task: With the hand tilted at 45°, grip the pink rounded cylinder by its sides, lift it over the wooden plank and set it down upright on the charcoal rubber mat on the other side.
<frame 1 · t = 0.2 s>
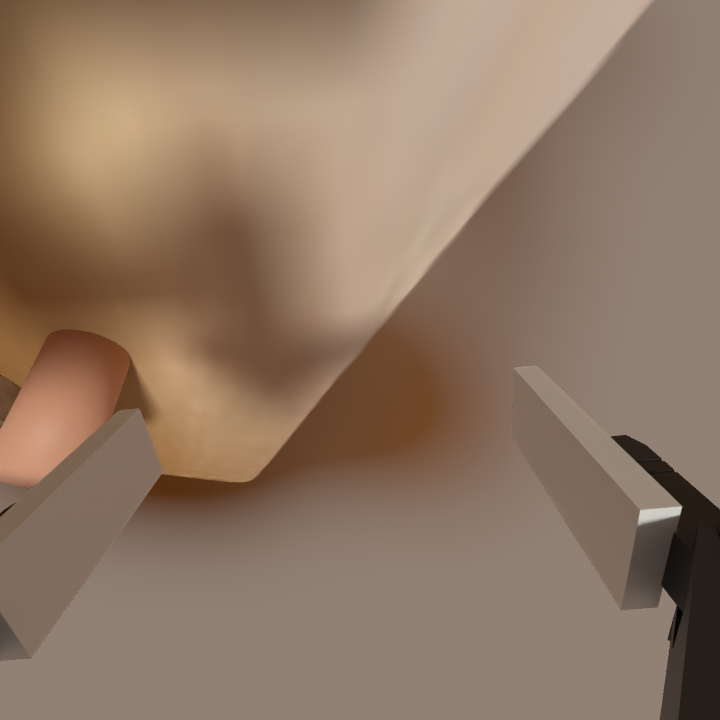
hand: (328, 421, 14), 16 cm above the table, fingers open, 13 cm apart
pink rounded cylinder: (90, 352, 38), on the table
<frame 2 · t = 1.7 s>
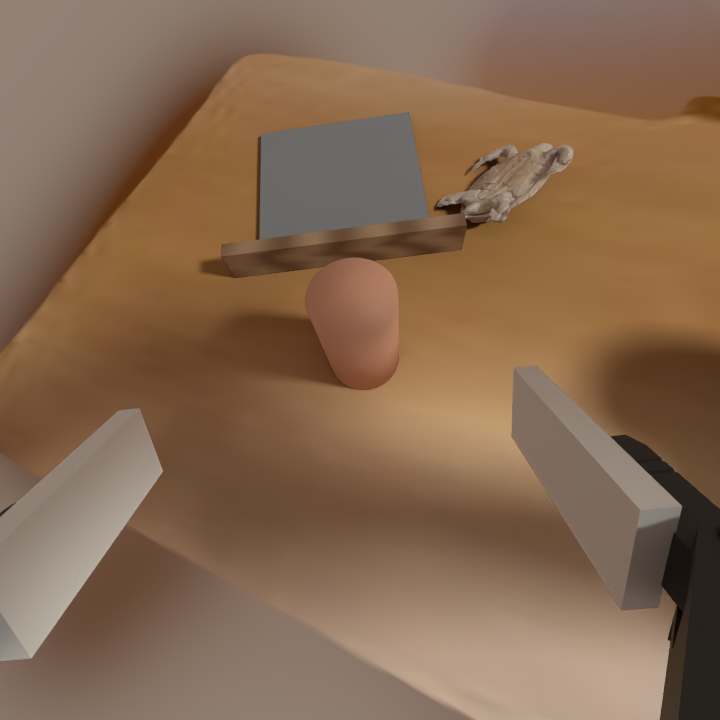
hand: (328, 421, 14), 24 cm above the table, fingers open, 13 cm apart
wooden plank: (346, 258, 46), on the table
mat: (339, 176, 51), on the table
pink rounded cylinder: (364, 357, 41), on the table
turtle: (495, 199, 48), on the table
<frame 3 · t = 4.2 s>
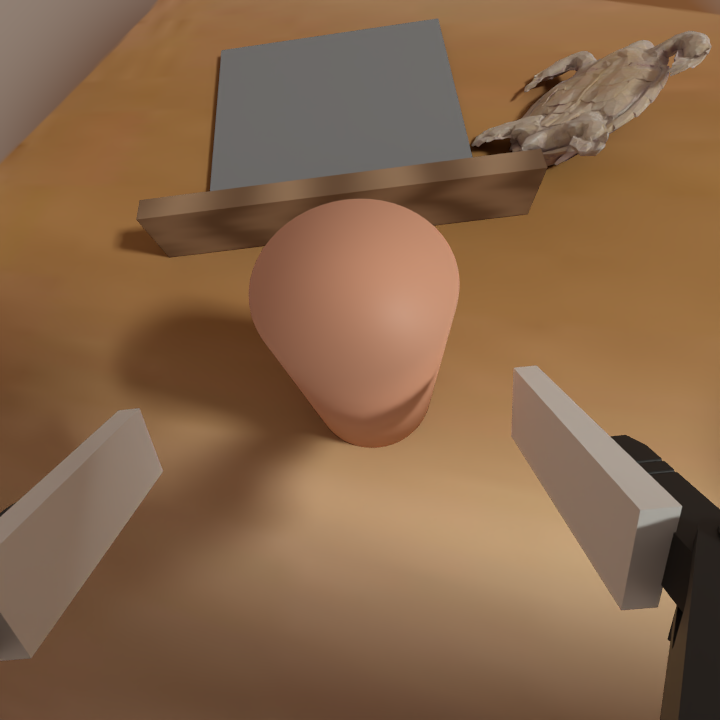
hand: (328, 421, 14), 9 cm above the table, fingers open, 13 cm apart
wooden plank: (343, 227, 29), on the table
mat: (334, 108, 34), on the table
pink rounded cylinder: (372, 389, 24), on the table
turtle: (561, 135, 31), on the table
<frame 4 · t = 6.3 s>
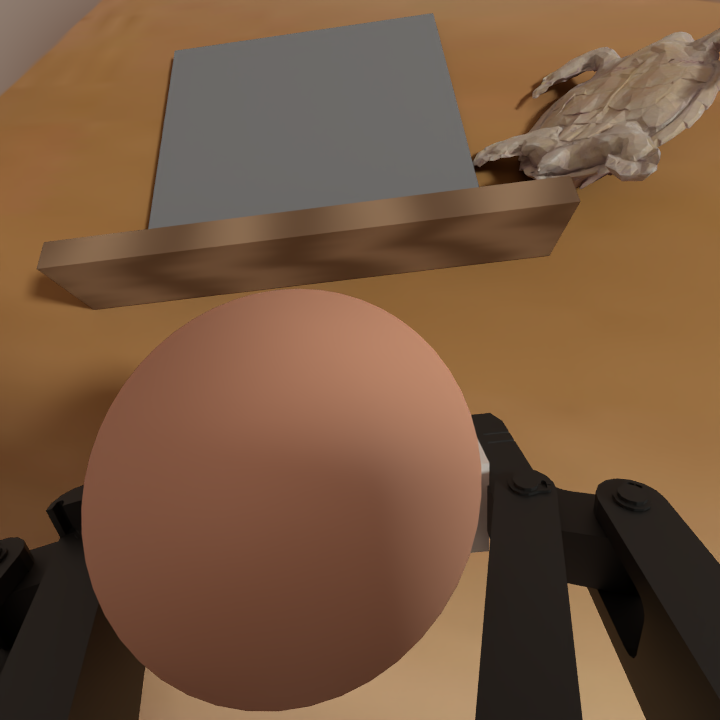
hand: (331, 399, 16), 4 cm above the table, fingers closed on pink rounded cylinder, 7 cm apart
wooden plank: (315, 271, 23), on the table
mat: (307, 120, 28), on the table
pink rounded cylinder: (349, 499, 18), on the table, touching gripper
turtle: (579, 150, 25), on the table
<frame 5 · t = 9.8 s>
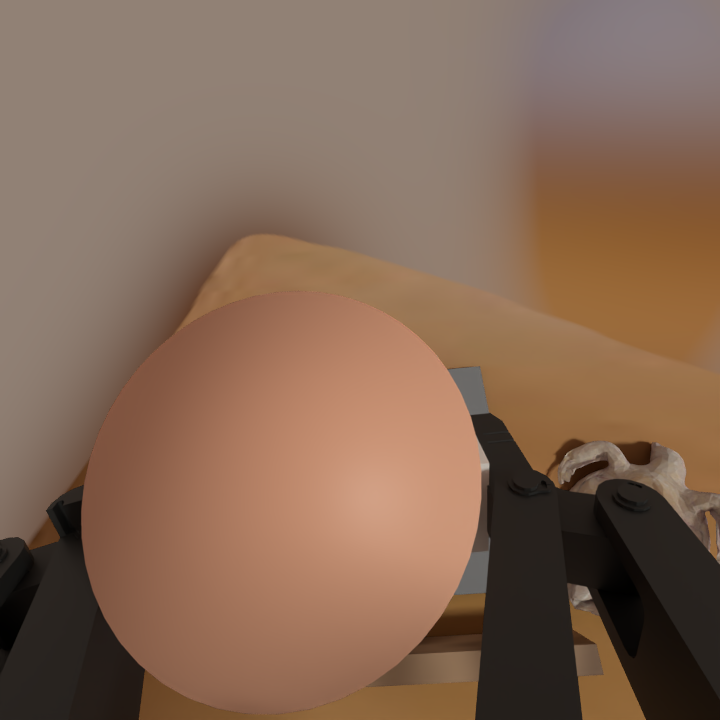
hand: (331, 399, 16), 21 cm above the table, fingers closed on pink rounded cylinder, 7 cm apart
wooden plank: (394, 651, 30), on the table
mat: (379, 477, 34), on the table
pink rounded cylinder: (349, 500, 18), point 17 cm above the table, touching gripper
turtle: (598, 526, 32), on the table
when the fingers open (6 cm above the table, at t = 13.2 s): pink rounded cylinder drops 1 cm, resting on mat.
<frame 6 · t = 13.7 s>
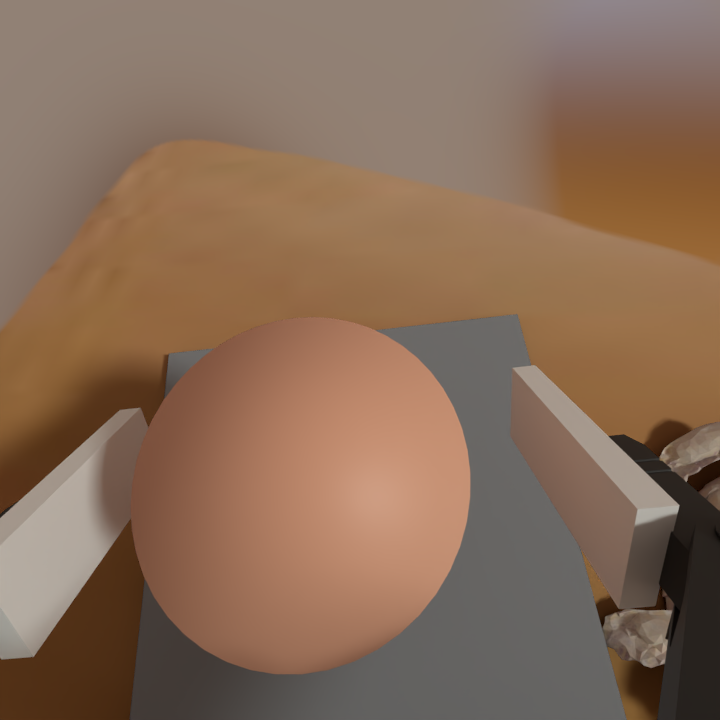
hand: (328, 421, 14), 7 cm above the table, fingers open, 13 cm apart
mat: (353, 501, 20), on the table
pink rounded cylinder: (352, 502, 19), point 1 cm above the table, touching mat
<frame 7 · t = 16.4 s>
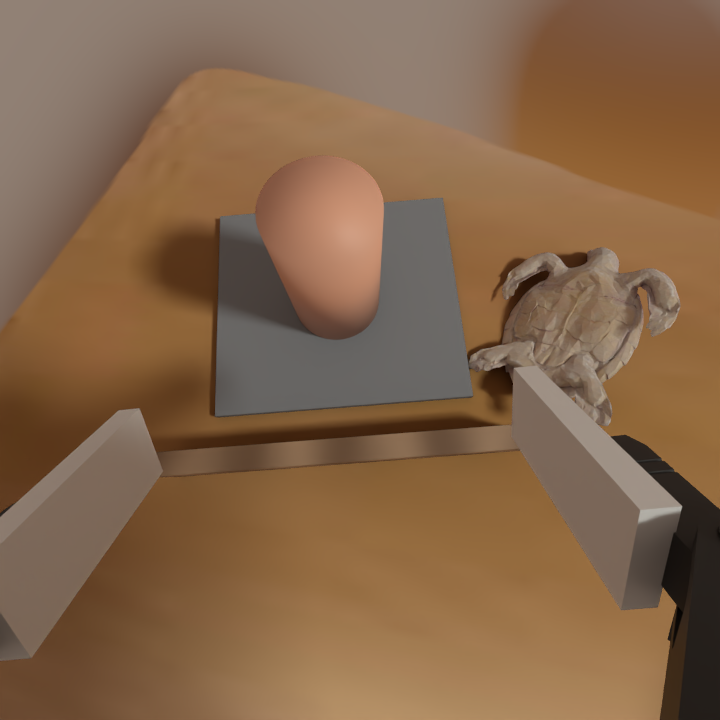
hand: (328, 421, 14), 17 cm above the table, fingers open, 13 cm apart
wooden plank: (346, 452, 31), on the table
mat: (337, 302, 34), on the table
pink rounded cylinder: (336, 299, 33), point 1 cm above the table, touching mat
turtle: (544, 335, 33), on the table
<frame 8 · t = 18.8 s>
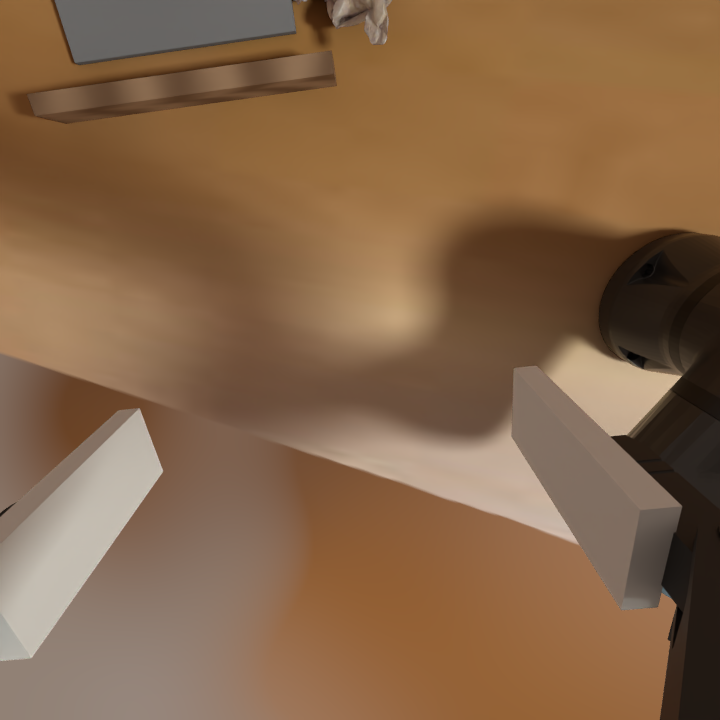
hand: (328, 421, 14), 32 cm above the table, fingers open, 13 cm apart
wooden plank: (197, 94, 37), on the table
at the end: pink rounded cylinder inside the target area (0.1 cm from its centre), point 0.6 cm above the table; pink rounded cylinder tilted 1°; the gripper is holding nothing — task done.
